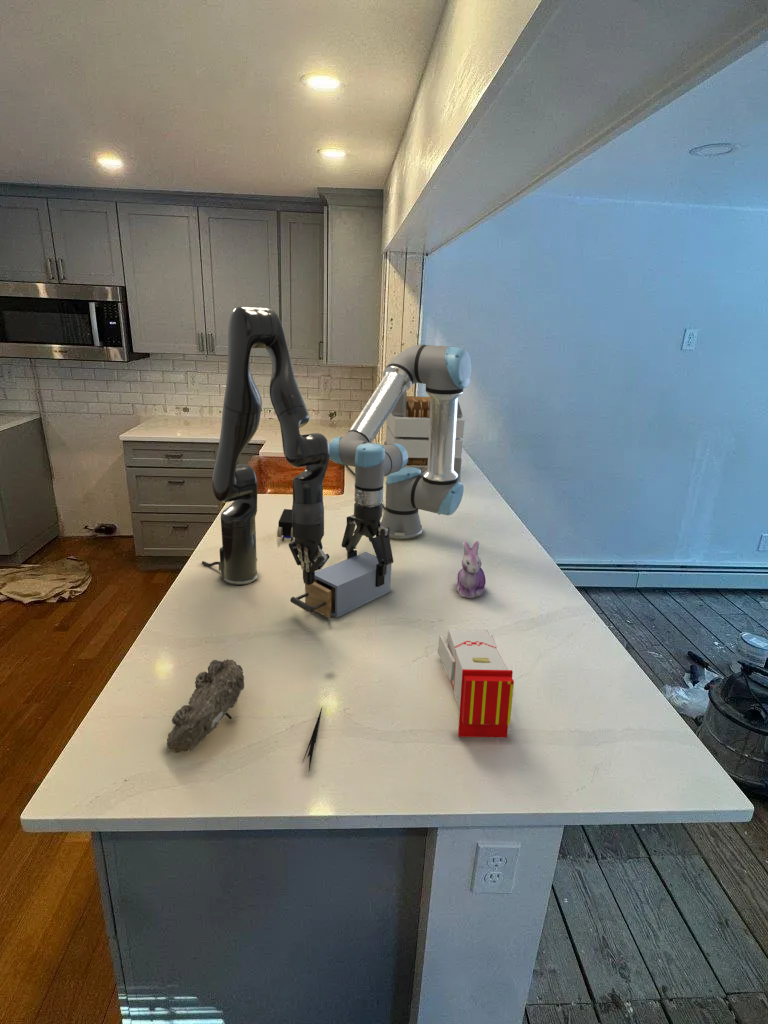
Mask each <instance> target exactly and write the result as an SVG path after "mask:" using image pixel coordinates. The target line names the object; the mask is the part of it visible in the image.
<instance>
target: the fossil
mask: <svg viewBox="0 0 768 1024" xmlns="http://www.w3.org/2000/svg"><path fill="white" fill-rule="evenodd" d="M243 670H244V669H243V667H242V665H240V664H237V662H236V661H235V660H234V659H232V658H231V659H227V658H226V659H224V660H223V661H222V660H217V659H212V660H211V661H210V663H209V665H208V666H207V671H201V672H199V673H198V674H197V675H196V676H195V680H194V684H195V685H194V687H195V689H194V690H193V693H192V694H191V697H190V698H189V700H188V704H184V705H182V706H181V707H180V709H177V710H176V711H175V713H174V715H173V716H172V718H171V723H172V724H173V727H172V730H171V731H170V732H168V734H167V738H166V741H167V742H166V745H167V749H168V750H169V751H173V752H174V753H176V754H178V753H182V752H188V751H189V752H192V751H193V750H195V748H196V747H197V746H199V744H200V743H201V742H203V741H204V740H205V739H206V738H207V737H208V736H209V735H210V734H211V733H212V732H214V730H215V729H217V727H218V726H219V724H220V722H221V721H222V720H223V719H224V718H225V716H226V717H227V719H229V720H233V717H232V715H230V714H229V710H230V709H231V708H234V706H235V704H236V703H237V702H238V699H239V697H240V695H241V693H242V691H243V690H245V689H244V688H245V675H244V671H243Z"/></svg>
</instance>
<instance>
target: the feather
mask: <svg viewBox="0 0 768 1024" xmlns="http://www.w3.org/2000/svg"><path fill="white" fill-rule="evenodd" d="M329 675H330V676H331V675H332V674H331V673H330V674H329ZM322 710H323V707H321V708H320V710H319V713H318V716H317V719H316V723H315V725H314V728H313V731H312V733H311V737H310V739H309V742H308V745H307V748H306V751H305V754H304V757H303V760H302V763H301V767H302V765H303V763H304V761H305V758H308V759H309V760H308V762H307V763H308V764H307V766H308V771H310V770H311V766H312V765H311V764H312V760H313V757H315V756H314V755H315V751H316V749H315V746H317V739H318V733H319V729H320V722H321V717H322V712H323V711H322ZM313 754H314V755H313ZM306 755H307V757H306Z"/></svg>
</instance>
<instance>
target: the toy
mask: <svg viewBox="0 0 768 1024" xmlns="http://www.w3.org/2000/svg"><path fill="white" fill-rule="evenodd" d="M446 640H447V643H446V641H445V639H444V636H443V635H442V634H439V637H438V646H437V656H438V657H439V659H440V661H441V663H442V666H443V668H444V670H445V672H446V674H447V677H448V679H449V681H450V684H451V687H452V690H453V693H454V697H455V701H456V705H457V708H458V711H459V714H458V715H459V716H458V730H457V731H458V732H457V737H458V738H508V731H509V726H510V725H511V717H512V707H513V697H514V696H513V695H514V684H515V680H514V679H513V673H514V671H513V670H512V669H508V667H507V665H506V662H505V661H504V659H503V658H502V655H501V653H500V651H499V649H498V647H497V643H496V639H495V637H494V635H493V634H491V632H490V631H489V629H467V628H466V629H465V628H463V629H461V628H460V629H459V628H448V630H447V639H446Z"/></svg>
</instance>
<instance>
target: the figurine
mask: <svg viewBox="0 0 768 1024" xmlns="http://www.w3.org/2000/svg"><path fill="white" fill-rule="evenodd" d="M479 548H480V541H479V540H476V541H475V542H474V543H473V546H472V547H470V545H469V543H468V542H467V541H464V542H463V552H464V553H463V555H464V556H463V558H462V559H461V567H462V568H461V569H460V570H459V571H458V573H457V577H456V578H457V580H456V581H457V582H456V586H455V589H456V592H457V593H458V595H459V596H460V597H462V598H468V599H473V598H477V597H480V596H481V595H482V594H483V593H484V590H485V587H486V581H487V580H486V579H487V578H486V575H485V571H484V570H483V568H482V565H483V564H482V560H481V558H480V556H479V555H480V554H479Z"/></svg>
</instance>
